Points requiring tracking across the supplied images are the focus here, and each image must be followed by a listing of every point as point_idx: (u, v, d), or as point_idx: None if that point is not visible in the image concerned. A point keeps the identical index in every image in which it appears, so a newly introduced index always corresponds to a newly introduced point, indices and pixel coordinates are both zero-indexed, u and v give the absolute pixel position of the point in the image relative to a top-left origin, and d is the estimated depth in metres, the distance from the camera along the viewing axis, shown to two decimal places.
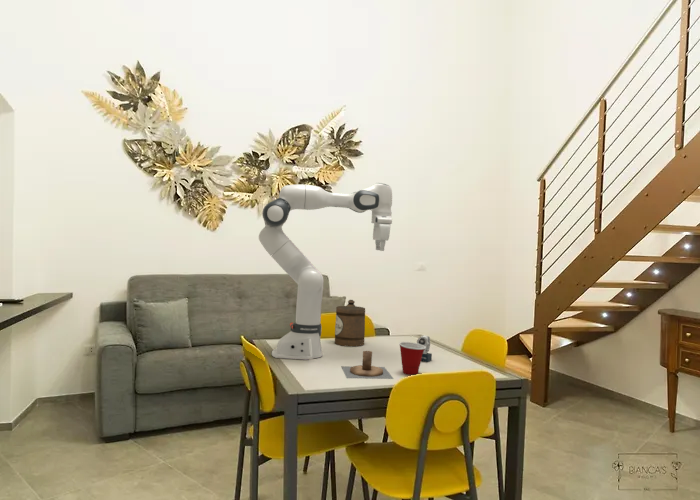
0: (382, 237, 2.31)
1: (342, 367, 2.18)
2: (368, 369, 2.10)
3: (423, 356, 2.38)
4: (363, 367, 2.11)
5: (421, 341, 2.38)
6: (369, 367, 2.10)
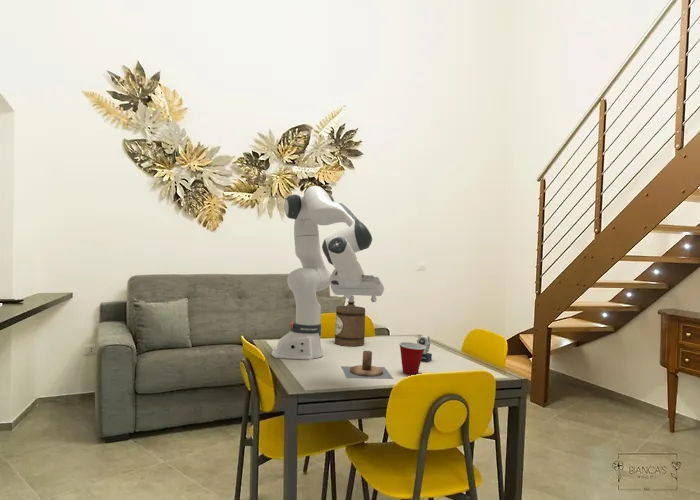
0: None
1: (342, 367, 2.18)
2: (368, 369, 2.10)
3: (423, 356, 2.38)
4: (363, 367, 2.11)
5: (421, 341, 2.38)
6: (369, 367, 2.10)
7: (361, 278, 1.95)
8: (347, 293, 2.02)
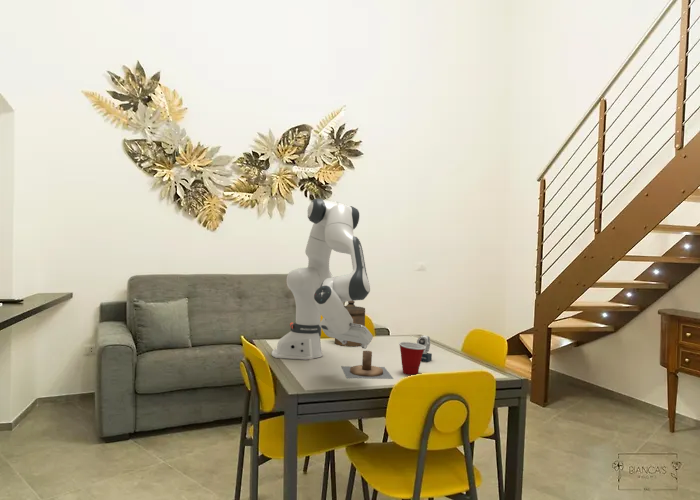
0: None
1: (342, 367, 2.18)
2: (368, 369, 2.10)
3: (423, 356, 2.38)
4: (363, 367, 2.11)
5: (421, 341, 2.38)
6: (369, 367, 2.10)
7: (348, 326, 1.94)
8: (338, 337, 2.03)
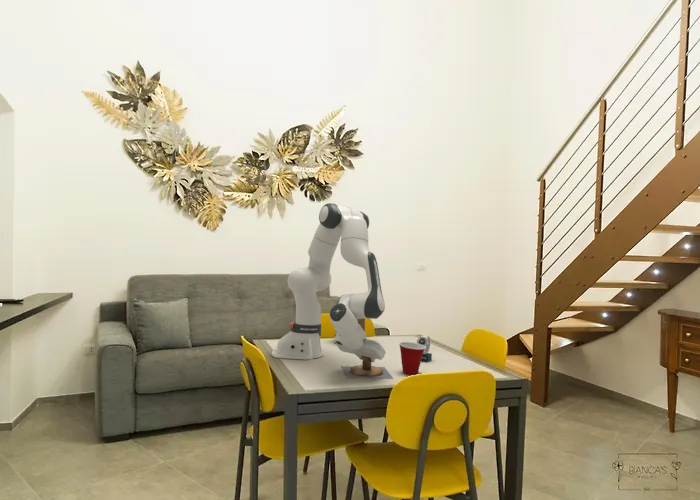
0: None
1: (342, 367, 2.18)
2: (368, 369, 2.10)
3: (423, 356, 2.38)
4: (363, 367, 2.11)
5: (421, 341, 2.38)
6: (369, 367, 2.10)
7: (362, 342, 2.01)
8: (352, 352, 2.10)
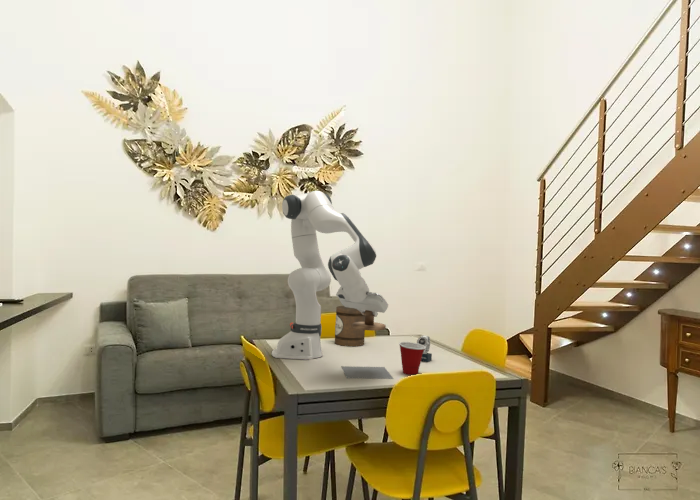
0: None
1: (342, 367, 2.18)
2: (371, 324, 2.10)
3: (423, 356, 2.38)
4: (366, 322, 2.10)
5: (421, 341, 2.38)
6: (372, 322, 2.10)
7: (365, 295, 2.01)
8: (354, 307, 2.10)
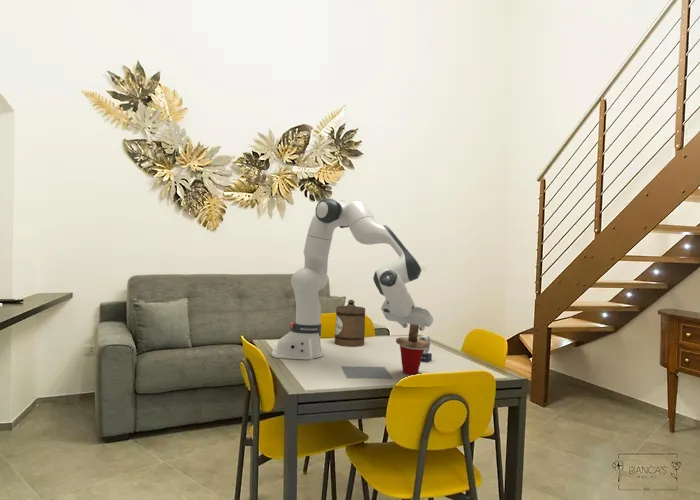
0: None
1: (342, 367, 2.18)
2: (414, 341, 2.12)
3: (423, 356, 2.38)
4: (409, 339, 2.13)
5: None
6: (415, 339, 2.13)
7: (411, 309, 2.04)
8: (398, 320, 2.12)
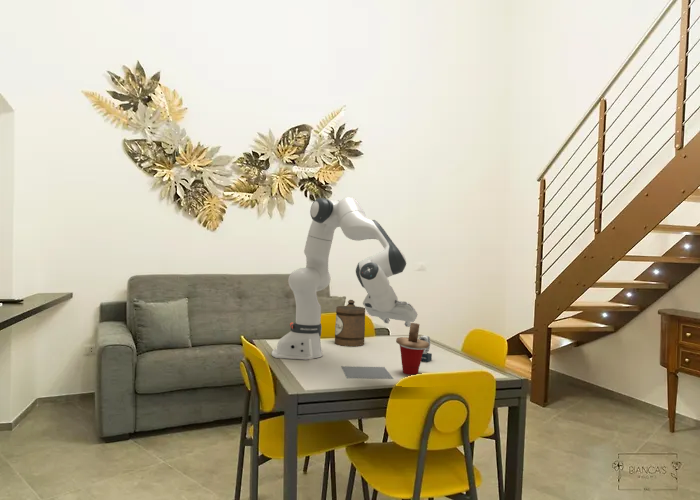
0: None
1: (342, 367, 2.18)
2: (415, 341, 2.12)
3: (423, 356, 2.38)
4: (410, 339, 2.13)
5: None
6: (416, 339, 2.13)
7: (393, 303, 1.93)
8: (381, 316, 2.02)
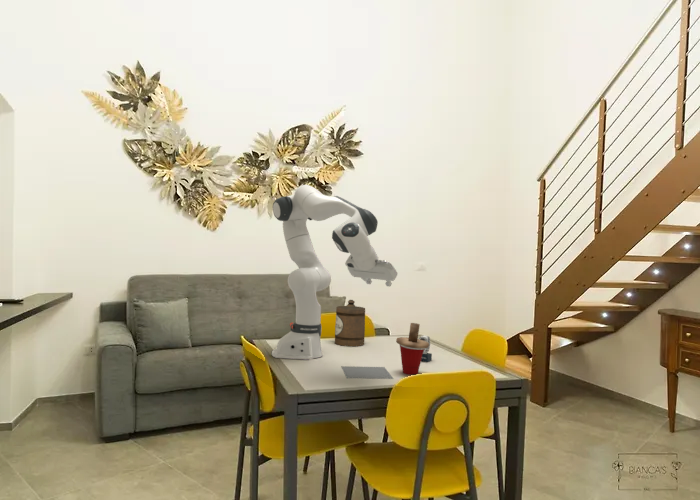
0: None
1: (342, 367, 2.18)
2: (415, 341, 2.12)
3: (423, 356, 2.38)
4: (410, 339, 2.13)
5: None
6: (416, 339, 2.13)
7: (374, 262, 2.01)
8: (363, 276, 2.10)
